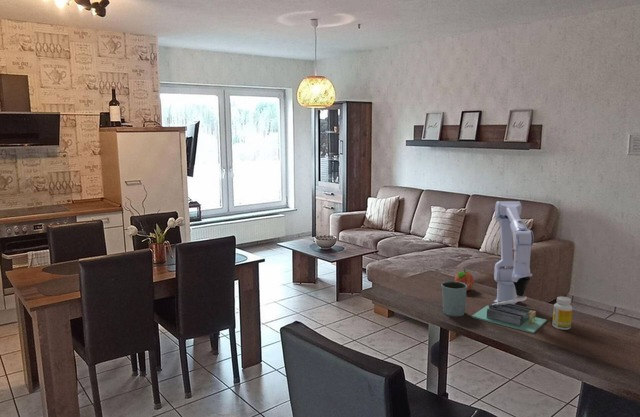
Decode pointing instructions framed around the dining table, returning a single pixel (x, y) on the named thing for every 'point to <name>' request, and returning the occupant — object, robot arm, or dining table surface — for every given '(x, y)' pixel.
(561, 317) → the supplement bottle
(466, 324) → the dining table surface
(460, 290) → the green cup
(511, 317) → the heat sink
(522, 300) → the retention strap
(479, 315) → the circuit board
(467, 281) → the fruit
